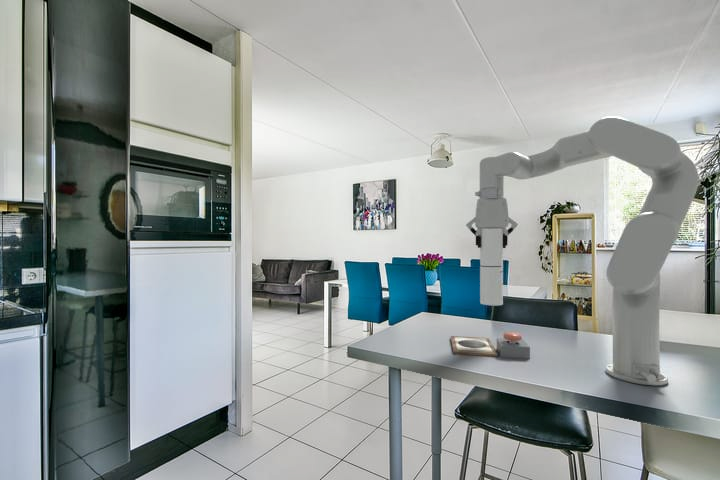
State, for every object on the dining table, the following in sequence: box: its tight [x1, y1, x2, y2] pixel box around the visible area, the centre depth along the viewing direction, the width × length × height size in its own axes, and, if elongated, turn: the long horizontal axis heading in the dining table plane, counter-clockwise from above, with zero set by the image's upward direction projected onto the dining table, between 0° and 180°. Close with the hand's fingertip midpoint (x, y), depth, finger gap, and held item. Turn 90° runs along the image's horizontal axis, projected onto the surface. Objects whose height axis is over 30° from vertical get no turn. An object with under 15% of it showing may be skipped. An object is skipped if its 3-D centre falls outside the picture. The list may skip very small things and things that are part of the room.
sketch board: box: [450, 335, 499, 358], centre depth 115 cm, size 18×13×1 cm
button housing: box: [496, 337, 531, 360], centre depth 108 cm, size 8×8×4 cm
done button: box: [503, 331, 523, 344], centre depth 108 cm, size 5×5×4 cm
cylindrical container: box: [479, 229, 504, 307], centre depth 116 cm, size 7×7×25 cm
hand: (491, 247), depth 116 cm, fingers closed on cylindrical container, 7 cm apart
